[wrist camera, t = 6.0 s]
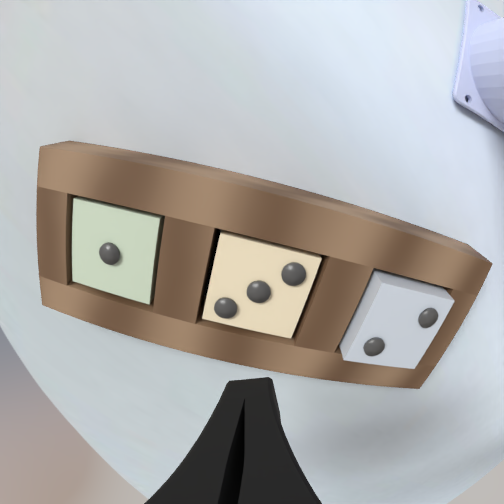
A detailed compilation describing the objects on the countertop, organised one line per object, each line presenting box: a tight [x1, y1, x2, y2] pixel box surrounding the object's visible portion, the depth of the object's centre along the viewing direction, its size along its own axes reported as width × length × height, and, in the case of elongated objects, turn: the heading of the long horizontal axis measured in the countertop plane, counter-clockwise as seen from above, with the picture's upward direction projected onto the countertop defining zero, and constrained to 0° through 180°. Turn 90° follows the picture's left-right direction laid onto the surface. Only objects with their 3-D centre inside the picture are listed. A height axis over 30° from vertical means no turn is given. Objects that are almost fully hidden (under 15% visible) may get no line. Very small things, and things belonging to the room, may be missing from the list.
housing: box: [37, 141, 492, 389], centre depth 17 cm, size 26×10×3 cm, turn 76°
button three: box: [202, 230, 322, 338], centre depth 17 cm, size 5×5×3 cm
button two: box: [339, 268, 454, 369], centre depth 17 cm, size 5×5×3 cm
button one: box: [72, 196, 165, 305], centre depth 17 cm, size 5×5×3 cm
